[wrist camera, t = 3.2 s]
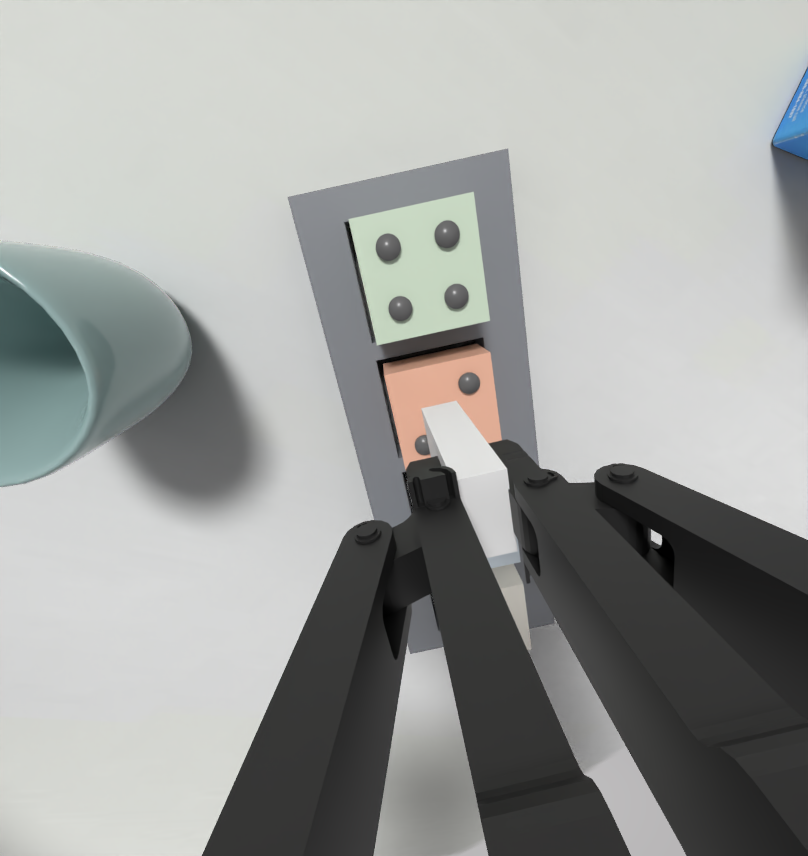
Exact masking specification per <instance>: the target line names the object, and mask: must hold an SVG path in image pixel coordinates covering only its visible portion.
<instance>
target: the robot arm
mask: <svg viewBox="0 0 808 856" xmlns="http://www.w3.org/2000/svg"><path fill="white" fill-rule="evenodd" d="M421 410H422V415H423V420H424V425H425V430H426V435H427V440H428V445H429V450H430V455H431V457H430V458H426V459H421V460H417V461H413V462H410V463H409V465H408V467H407V468H406V474H407V478H408V486H409V490H410V494H411V499H412V503H413V512H412V514H411V515H410V517H409V518H408V519H407V520H405V521H404V522H402V523H401V524H399V525H397V526H395V527H391V526H390V524H389V523H387V522H384V521H382V520H371V521H365V522H362V523H360V524H358V525H356V526H354V527H353V528H351V529H350V530H349V531H348V532H347V533H346V534H345V536H344V537H343V540H342V542H341V544H340V546H339V549H338V551H337V553H336V555H335V558H334V560H333V562H332V564H331V567H330V569H329V571H328V573H327V576H326V578H325V580H324V582H323V585H322V587H321V589H320V591H319V594H318V596H317V598H316V600H315V603H314V605H313V607H312V609H311V612H310V614H309V616H308V618H307V621H306V623H305V625H304V627H303V630H302V632H301V634H300V636H299V639H298V641H297V643H296V645H295V648H294V650H293V652H292V654H291V657H290V659H289V661H288V663H287V666H286V668H285V670H284V672H283V674H282V677H281V679H280V681H279V683H278V686H277V688H276V690H275V692H274V695H273V697H272V699H271V701H270V704H269V706H268V708H267V710H266V713H265V715H264V717H263V719H262V722H261V724H260V726H259V728H258V731H257V733H256V735H255V737H254V740H253V742H252V744H251V746H250V749H249V751H248V753H247V755H246V758H245V760H244V762H243V764H242V767H241V769H240V771H239V773H238V776H237V778H236V780H235V782H234V785H233V787H232V789H231V791H230V794H229V796H228V798H227V800H226V803H225V805H224V807H223V809H222V812H221V814H220V816H219V818H218V821H217V823H216V825H215V827H214V830H213V832H212V834H211V836H210V839H209V841H208V843H207V845H206V848H205V850H204V852H203V854H202V856H373V855H374V848H375V842H376V836H377V830H378V823H379V817H380V811H381V804H382V798H383V792H384V785H385V779H386V773H387V767H388V760H389V754H390V748H391V741H392V735H393V729H394V723H395V716H396V710H397V704H398V697H399V691H400V685H401V679H402V672H403V666H404V660H405V653H406V647H407V641H408V635H409V628H410V622H411V616H412V603H414V602H416V601H418V600H420V599H421V598H423V597H425V596H427V595H429V594H431V593H432V595H433V600H434V604H435V609H436V614H437V618H438V623H439V627H440V632H441V637H442V641H443V646H444V650H445V655H446V660H447V664H448V669H449V673H450V678H451V683H452V687H453V692H454V696H455V701H456V706H457V710H458V715H459V719H460V724H461V729H462V733H463V738H464V742H465V747H466V752H467V756H468V761H469V766H470V770H471V775H472V779H473V784H474V789H475V793H476V798H477V803H478V808H479V813H480V818H481V823H482V827H483V832H484V837H485V841H486V846H487V850H488V855H489V856H631V855H630V853H629V850H628V848H627V846H626V844H625V842H624V840H623V837H622V835H621V833H620V831H619V829H618V827H617V824H616V822H615V820H614V818H613V816H612V814H611V812H610V810H609V808H608V806H607V804H606V802H605V800H604V798H603V796H602V794H601V792H600V790H599V789H598V787H597V786H596V784H595V783H594V781H593V780H592V779H591V778H589V777H587V776H585V775H584V774H583V772H582V771H581V769H580V767H579V765H578V763H577V761H576V759H575V757H574V755H573V753H572V750H571V748H570V746H569V743H568V741H567V739H566V737H565V734H564V732H563V730H562V728H561V725H560V723H559V721H558V718H557V716H556V714H555V712H554V709H553V707H552V705H551V703H550V700H549V698H548V696H547V694H546V691H545V689H544V687H543V684H542V682H541V680H540V678H539V675H538V673H537V671H536V669H535V666H534V664H533V662H532V659H531V657H530V655H529V653H528V650H527V648H526V646H525V644H524V641H523V639H522V637H521V634H520V632H519V630H518V628H517V625H516V623H515V621H514V619H513V616H512V614H511V612H510V610H509V607H508V605H507V603H506V600H505V598H504V596H503V594H502V591H501V589H500V587H499V585H498V582H497V580H496V578H495V575H494V573H493V571H492V569H491V566H490V564H489V562H488V560H487V558H490V557H494V556H499V555H503V554H508V553H512V552H516V551H517V543H516V537H517V539H518V541H519V542H520V544H521V547H522V555H523V563H524V571H525V579H526V583H527V584H529V583H530V575H531V576H532V578H533V579H534V581H535V583H536V585H537V587H538V588H539V590H540V592H541V594H542V596H543V597H544V599H545V601H546V603H547V605H548V606H549V608H550V610H551V612H552V614H553V615H554V617H555V619H556V621H557V623H558V624H559V626H560V628H561V630H562V632H563V633H564V635H565V637H566V639H567V641H568V642H569V644H570V646H571V648H572V650H573V651H574V653H575V655H576V657H577V659H578V660H579V662H580V664H581V666H582V668H583V669H584V671H585V673H586V675H587V677H588V678H589V680H590V682H591V684H592V686H593V687H594V689H595V691H596V693H597V695H598V696H599V698H600V700H601V702H602V704H603V705H604V707H605V709H606V711H607V713H608V714H609V716H610V718H611V720H612V722H613V723H614V725H615V727H616V729H617V731H618V732H619V734H620V736H621V738H622V740H623V741H624V743H625V745H626V747H627V748H628V750H629V752H630V754H631V756H632V757H633V759H634V761H635V763H636V765H637V767H638V768H639V770H640V772H641V774H642V776H643V777H644V779H645V781H646V783H647V785H648V786H649V788H650V790H651V792H652V793H653V795H654V797H655V799H656V801H657V802H658V804H659V806H660V808H661V810H662V811H663V813H664V815H665V817H666V819H667V821H668V822H669V824H670V826H671V828H672V829H673V831H674V833H675V835H676V837H677V839H678V840H679V842H680V844H681V846H682V848H683V850H684V852H685V854H686V855H687V856H808V540H806V539H804V538H802V537H799V536H797V535H795V534H793V533H790V532H788V531H786V530H783V529H781V528H779V527H777V526H774V525H772V524H770V523H767V522H765V521H763V520H761V519H758V518H756V517H754V516H751V515H749V514H747V513H744V512H742V511H740V510H738V509H735V508H733V507H731V506H728V505H726V504H724V503H722V502H719V501H717V500H715V499H712V498H710V497H708V496H706V495H703V494H701V493H699V492H696V491H694V490H692V489H689V488H687V487H685V486H683V485H680V484H678V483H676V482H673V481H671V480H669V479H667V478H664V477H662V476H660V475H657V474H655V473H653V472H651V471H648V470H646V469H644V468H641V467H638V466H634V465H628V464H623V463H620V464H611V465H608V466H604V467H602V468H600V469H598V470H597V471H596V473H595V474H594V479H595V482H592V483H568V482H567V481H566V480H565V479H564V478H563V477H562V476H561V475H560V474H558V473H557V472H555V471H551V470H548V469H541V468H540V467H539V466H538V465H537V464H536V463H535V462H534V461H533V459H532V458H531V457H530V456H528V454H527V453H526V452H525V451H524V450H523V449H522V448H521V447H520V445H519V444H518V443H515V442H513V441H510V440H508V439H506V440H501V441H497V442H492V443H488V442H487V441H486V440H485V438H484V437H483V436H482V434H481V433H480V432H479V430H478V429H477V428H476V426H475V425H474V424H473V422H472V421H471V420H470V418H469V417H468V416H467V414H466V413H465V412H464V410H463V409H462V408H461V406H460V405H459V404H458V402H457V401H452V402H448V403H443V404H439V405H434V406H430V407H425V408H421ZM651 529H652V530H653V531H655V532H657V533H659V534H660V535H662V545H658V544H656V543H655V542H653V541H651Z"/></svg>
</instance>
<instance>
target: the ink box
mask: <svg viewBox="0 0 808 856" xmlns="http://www.w3.org/2000/svg"><path fill="white" fill-rule="evenodd" d="M773 145H774V146H775V147H778V148H780V149H782V150H785V151H787V152H790V153H792V154H795V155H797V156H799V157H802V158H804V159H807V160H808V69H807V71H806V73H805V75H804V77H803V79H802V81H801V83H800V85H799V88H798V90H797V91H796V93H795V95H794V97H793V99H792V102H791V104H790V106H789V108H788V110H787V112H786V114H785V116H784V118H783V120H782V122H781V124H780V126H779V128H778V130H777V132H776V134H775V136H774V139H773Z"/></svg>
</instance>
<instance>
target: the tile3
mask: <svg viewBox="0 0 808 856" xmlns="http://www.w3.org/2000/svg"><path fill="white" fill-rule="evenodd" d="M383 369H384V377H385V381H386V386H387V390H388V394H389V399H390V403H391V408H392V412H393V417H394V421H395V425H396V430H397V434H398V439H399V443H400V448H401V452H402V456H403V461H404V465H405V470H406V468H407V467H408V465H409V463H410V462H413V461H417V460H421V459H426V458H430V457H431V455H430V450H429V445H428V440H427V435H426V430H425V425H424V420H423V415H422V410H421V408H425V407H430V406H434V405H439V404H443V403H448V402H452V401H457V402H458V404H459V405H460V406H461V408H462V409H463V410H464V412H465V413H466V414H467V416H468V417H469V418H470V420H471V421H472V422H473V424H474V425H475V426H476V428H477V429H478V430H479V432H480V433H481V434H482V436H483V437H484V438H485V440H486V441H487V442H488V443H492V442H497V441H501V440H502V438H501V430H500V422H499V415H498V407H497V399H496V391H495V384H494V376H493V368H492V361H491V353H490V352H489V351H488V350H486V349H485V348H483V347H482V346H480V345H478V344H477V343H476V344H471V345H467V346H462V347H458V348H453V349H448V350H444V351H439V352H435V353H430V354H425V355H421V356H416V357H412V358H407V359H402V360H398V361H393V362H389V363H384V364H383Z"/></svg>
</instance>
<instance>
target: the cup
mask: <svg viewBox="0 0 808 856" xmlns="http://www.w3.org/2000/svg"><path fill="white" fill-rule="evenodd" d="M192 350H193V349H192V339H191V335H190V331H189V328H188V325H187V323H186V321H185V319H184V317H183V315H182V313H181V312H180V310H179V309H178V307H177V306H176V305H175V303H174V302H173V300H172V299H171V298H170V297H169V296H168V295H167V294H166V293H165V292H164V291H163V290H162V289H161V288H160V287H159V286H158V285H156V284H155V283H154V282H153V281H151V280H150V279H149V278H147V277H146V276H145V275H143V274H142V273H140V272H138V271H136V270H134V269H133V268H131V267H129V266H127V265H125V264H123V263H120V262H118V261H115V260H111V259H108V258H105V257H102V256H98V255H95V254H92V253H88V252H84V251H79V250H74V249H68V248H63V247H55V246H48V245H40V244H31V243H21V242H12V241H1V240H0V487H7V486H13V485H19V484H25V483H29V482H32V481H35V480H37V479H40V478H43V477H46V476H48V475H51V474H54V473H56V472H58V471H60V470H62V469H64V468H65V467H67V466H69V465H71V464H72V463H74V462H76V461H77V460H79V459H81V458H82V457H84V456H86V455H87V454H89V453H91V452H92V451H94V450H96V449H97V448H99V447H101V446H102V445H104V444H105V443H107V442H109V441H110V440H112V439H114V438H115V437H117V436H118V435H120V434H122V433H123V432H125V431H126V430H128V429H129V428H131V427H133V426H134V425H135V424H137V423H138V422H140V421H141V420H143V419H144V418H145V417H147V416H148V415H150V414H151V413H152V412H153V411H154V410H156V409H157V408H158V407H159V406H160V405H161V404H162V403H163V402H164V401H166V400H167V399H168V398H169V397H170V396H171V395H172V394H173V393H174V391H175V390H176V389H177V387H178V386H179V384H180V383H181V382H182V380H183V379H184V377H185V375H186V373H187V371H188V368H189V366H190V362H191V356H192Z"/></svg>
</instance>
